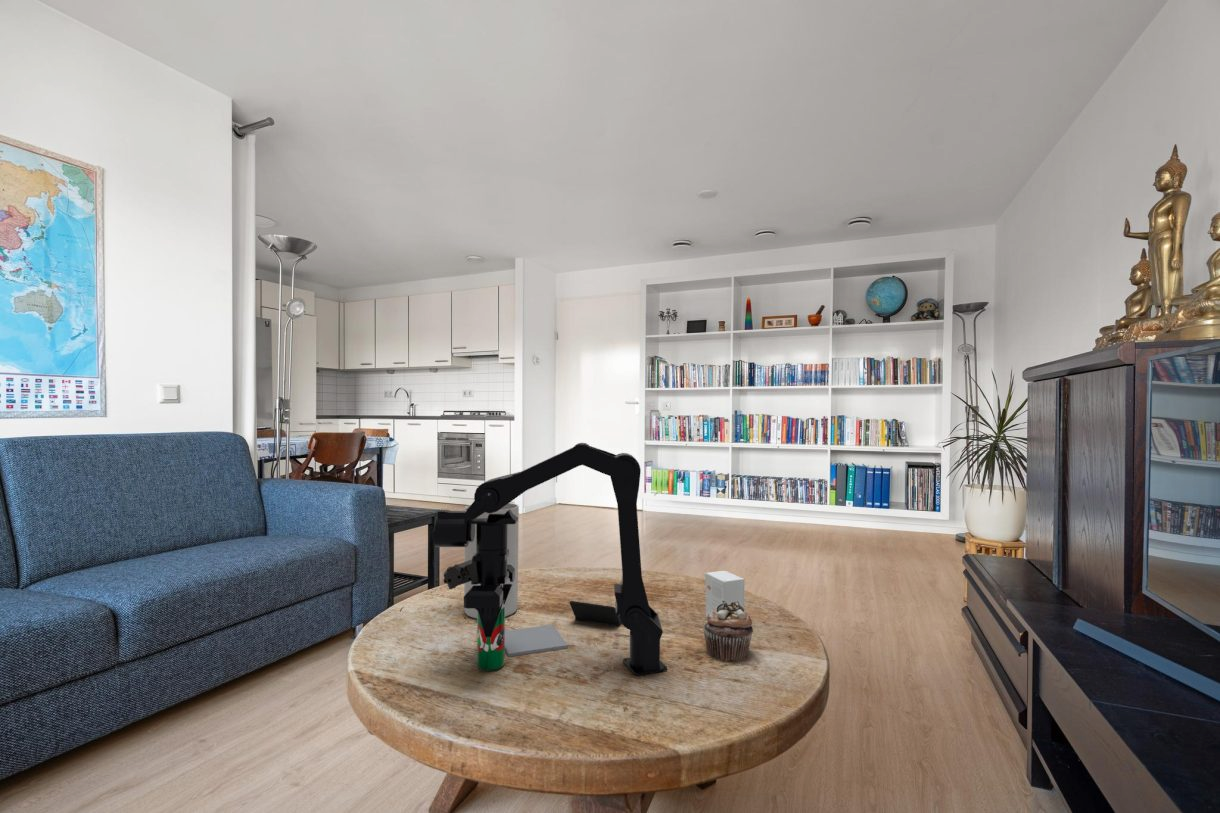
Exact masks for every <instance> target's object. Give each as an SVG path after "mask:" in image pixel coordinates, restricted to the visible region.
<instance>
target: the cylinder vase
mask: <svg viewBox="0 0 1220 813" xmlns="http://www.w3.org/2000/svg"><path fill="white" fill-rule="evenodd" d="M470 506H471V504H468V505H466V506H464V507H465V509H464V511H467V508H469V507H470ZM519 507H520V506H519V504H517V503H511V502H510V503H508V504H507V505H505V506H504V507H503V508H501V509H500V510H498V511H496V512H494V513H486V512H485V513H483V514H482V515H480V516H478V517H477V518H488V515H489V514H505V513H506V512H507V511H508V510H509V509H510V510H511V512H512V513H513V514H514V515H515V516H516V517H518V521H517V522H516V523H515V524H508V537H507V550H509V556H508V557H507V565H512V566H513V567H514V568H515V579H514V581H513V582H510V578H508V579H507V581H506V582H505V584H512V587H511V590H510V592H509V595H508V597H507V600H506V603H505V605H504V606H505V618H506V617H509V616H510V615H513V614H514V613H515V612H516V611H517V610H518V607H519V606H518V605H519V603H518V602H519V601H518V600H519V598H518V596H519V522H520V521H519V517H520V516H519V515H520V514H519V510H520V508H519ZM476 529H477V524H475V538H474V541H473V542H469V544H468V546H467V547H464V562H466V561H469V560H472V557H473V556H474V555H475V554H476ZM463 585H464V593H463V594H464V596H465V594H466V593H467V592H468V590H469V589H470V588H472V587H473V586H481V584H471V581H469V582H467V583H464V584H463ZM464 596H463V597H464ZM463 608H464V607H463ZM463 610H464V613H465V614H466V615H467V616H468V617H470V618H473V619H476V620H477V610H476V609H475V608H464V609H463Z"/></svg>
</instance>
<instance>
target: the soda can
mask: <svg viewBox="0 0 1220 813" xmlns="http://www.w3.org/2000/svg"><path fill="white" fill-rule="evenodd" d="M505 625H506V617H505V606H504V604H503V606H502V609H501V611H500V614H499V617H498V620H497V622H496V625H495V628H494V630H493V633H492V636H491V637H485V634H484V631H483V627H482V623H481V619H480V616H479V613H478V611H477V619H476V666H477V668H478V669H479V670H481V671H484V672H494V671H497V670H499V669H501V668H502V667H503V666H504V664H505V655H506V653H505V652H506V650H505V631H506V626H505Z"/></svg>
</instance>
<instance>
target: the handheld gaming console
mask: <svg viewBox="0 0 1220 813" xmlns="http://www.w3.org/2000/svg"><path fill="white" fill-rule="evenodd" d="M569 604H570V608H571V610H572V612H573V615H574V618H575V619H574V620H575V621H578V622H587V623H593V624H601V625H607V626H613V627H620V626H621V625H622V623H621V620H620V614H619V615H618V616H616V610H615V606H611V605H604V604H603V605H602V604H596V603H590V602H582V601H575V600H574V601H573V600H569Z"/></svg>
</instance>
